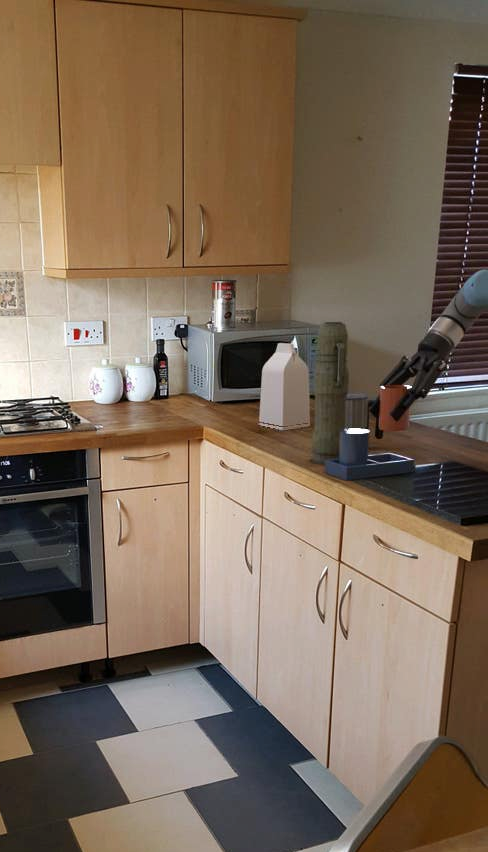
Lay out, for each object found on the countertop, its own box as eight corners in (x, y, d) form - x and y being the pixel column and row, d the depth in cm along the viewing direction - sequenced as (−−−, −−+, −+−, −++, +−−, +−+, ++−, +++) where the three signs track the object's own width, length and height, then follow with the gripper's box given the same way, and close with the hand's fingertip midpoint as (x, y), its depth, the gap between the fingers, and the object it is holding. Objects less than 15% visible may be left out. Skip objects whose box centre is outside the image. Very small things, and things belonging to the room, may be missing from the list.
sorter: (413, 472, 214) (414, 459, 213) (346, 480, 208) (346, 467, 207) (389, 464, 223) (390, 452, 222) (324, 472, 216) (324, 460, 215)
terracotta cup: (414, 429, 210) (417, 387, 207) (389, 432, 208) (392, 389, 204) (397, 425, 216) (399, 384, 213) (373, 427, 214) (375, 386, 211)
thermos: (331, 455, 237) (335, 320, 225) (355, 463, 226) (361, 322, 215) (302, 458, 234) (305, 322, 222) (325, 466, 223) (329, 324, 212)
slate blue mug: (373, 473, 212) (375, 431, 208) (348, 476, 209) (350, 434, 206) (357, 467, 218) (358, 427, 215) (332, 470, 215) (334, 430, 212)
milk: (258, 425, 286) (259, 343, 278) (285, 422, 292) (287, 341, 284) (282, 430, 277) (284, 345, 268) (310, 426, 282) (312, 343, 274)
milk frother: (345, 453, 238) (347, 398, 234) (315, 444, 252) (316, 392, 247) (389, 448, 243) (392, 394, 238) (357, 440, 257) (359, 388, 252)
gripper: (478, 355, 204) (419, 431, 203) (418, 349, 221) (364, 420, 220) (462, 332, 200) (402, 410, 199) (403, 329, 217) (348, 400, 216)
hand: (382, 415), depth 209 cm, fingers closed on terracotta cup, 7 cm apart
